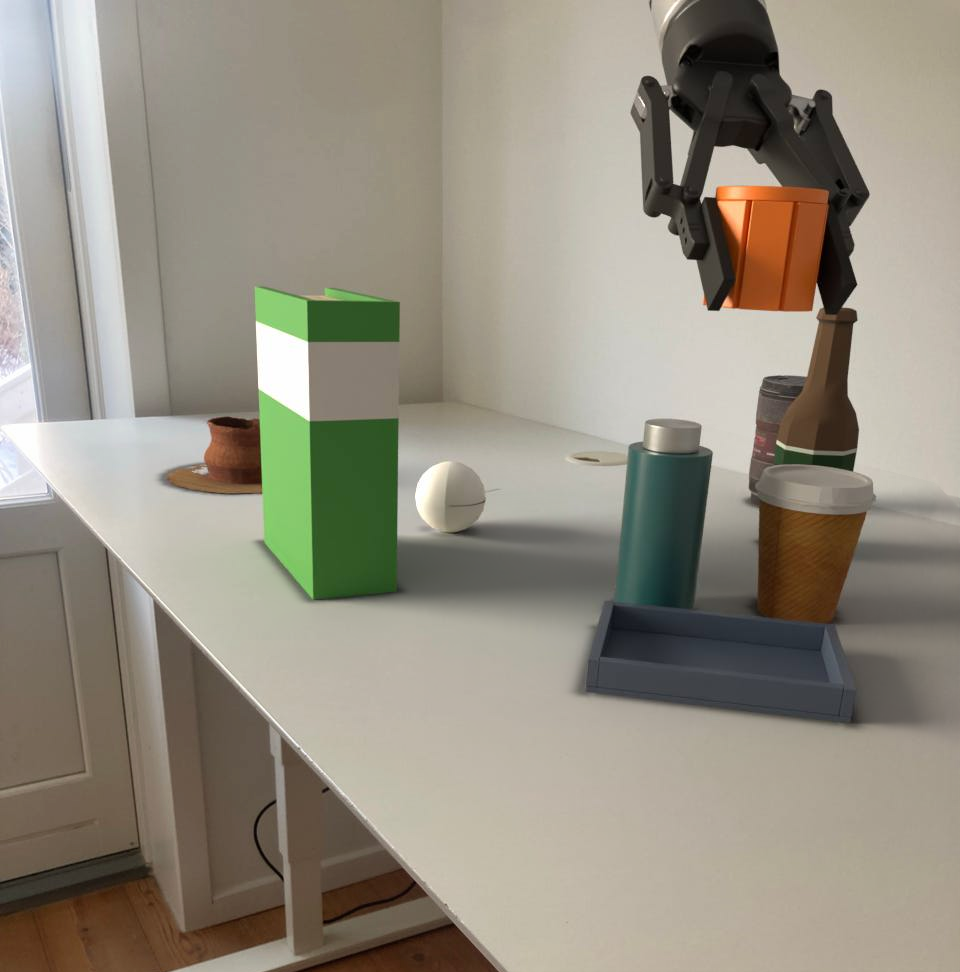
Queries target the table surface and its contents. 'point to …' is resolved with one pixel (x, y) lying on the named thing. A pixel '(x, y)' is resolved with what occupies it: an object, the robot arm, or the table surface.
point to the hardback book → (330, 437)
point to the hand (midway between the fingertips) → (782, 297)
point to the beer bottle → (823, 402)
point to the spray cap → (773, 245)
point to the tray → (721, 661)
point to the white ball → (450, 496)
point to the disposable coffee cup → (807, 538)
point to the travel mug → (770, 422)
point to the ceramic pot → (227, 459)
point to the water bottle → (663, 515)
